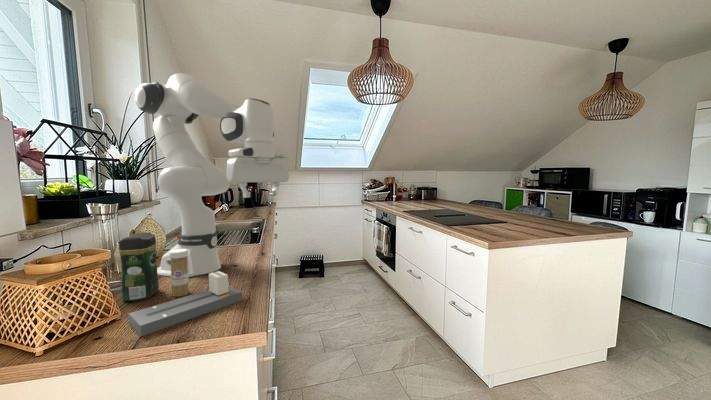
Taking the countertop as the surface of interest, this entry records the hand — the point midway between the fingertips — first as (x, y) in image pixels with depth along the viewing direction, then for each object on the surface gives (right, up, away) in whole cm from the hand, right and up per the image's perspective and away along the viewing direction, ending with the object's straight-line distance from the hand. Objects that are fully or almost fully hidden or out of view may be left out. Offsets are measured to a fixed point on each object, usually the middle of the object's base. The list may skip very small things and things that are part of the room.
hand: (260, 196), depth 89 cm
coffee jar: (-34, -30, -5) cm, 45 cm away
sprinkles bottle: (-23, -30, -4) cm, 37 cm away
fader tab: (-9, -27, -9) cm, 30 cm away
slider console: (-13, -30, -15) cm, 36 cm away
